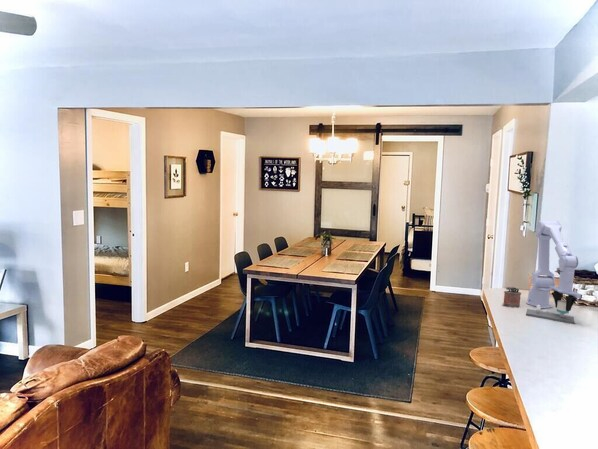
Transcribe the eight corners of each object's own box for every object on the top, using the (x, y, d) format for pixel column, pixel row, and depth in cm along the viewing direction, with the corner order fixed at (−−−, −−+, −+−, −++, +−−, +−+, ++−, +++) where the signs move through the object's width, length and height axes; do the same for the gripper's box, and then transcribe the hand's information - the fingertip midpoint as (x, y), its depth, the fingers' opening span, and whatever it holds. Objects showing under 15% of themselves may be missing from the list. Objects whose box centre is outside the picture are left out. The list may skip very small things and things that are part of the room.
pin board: (525, 315, 223) (526, 305, 223) (527, 310, 231) (528, 301, 230) (574, 323, 213) (575, 313, 213) (573, 318, 221) (575, 308, 221)
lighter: (518, 305, 239) (520, 286, 238) (520, 307, 236) (522, 288, 235) (501, 304, 240) (503, 285, 239) (504, 306, 237) (506, 287, 235)
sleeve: (554, 310, 221) (555, 300, 220) (561, 310, 222) (562, 299, 222) (563, 314, 216) (564, 303, 216) (570, 313, 218) (571, 302, 217)
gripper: (546, 277, 223) (543, 305, 224) (574, 285, 209) (571, 314, 211) (556, 276, 225) (553, 304, 227) (585, 284, 212) (581, 313, 214)
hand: (562, 309), depth 219 cm, fingers closed on sleeve, 5 cm apart
